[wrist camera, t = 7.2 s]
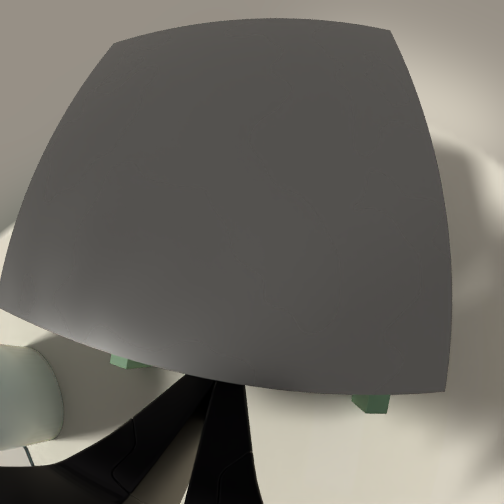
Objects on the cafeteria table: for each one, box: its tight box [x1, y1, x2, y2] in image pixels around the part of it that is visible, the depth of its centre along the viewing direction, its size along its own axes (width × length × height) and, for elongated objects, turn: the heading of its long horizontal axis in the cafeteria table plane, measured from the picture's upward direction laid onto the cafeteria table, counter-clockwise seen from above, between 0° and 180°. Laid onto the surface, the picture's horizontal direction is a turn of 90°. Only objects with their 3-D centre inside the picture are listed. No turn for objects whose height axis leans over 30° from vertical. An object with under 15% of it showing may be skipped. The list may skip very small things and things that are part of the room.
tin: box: [0, 18, 452, 395], centre depth 10 cm, size 8×8×12 cm
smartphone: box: [0, 446, 34, 466], centre depth 13 cm, size 7×1×15 cm
